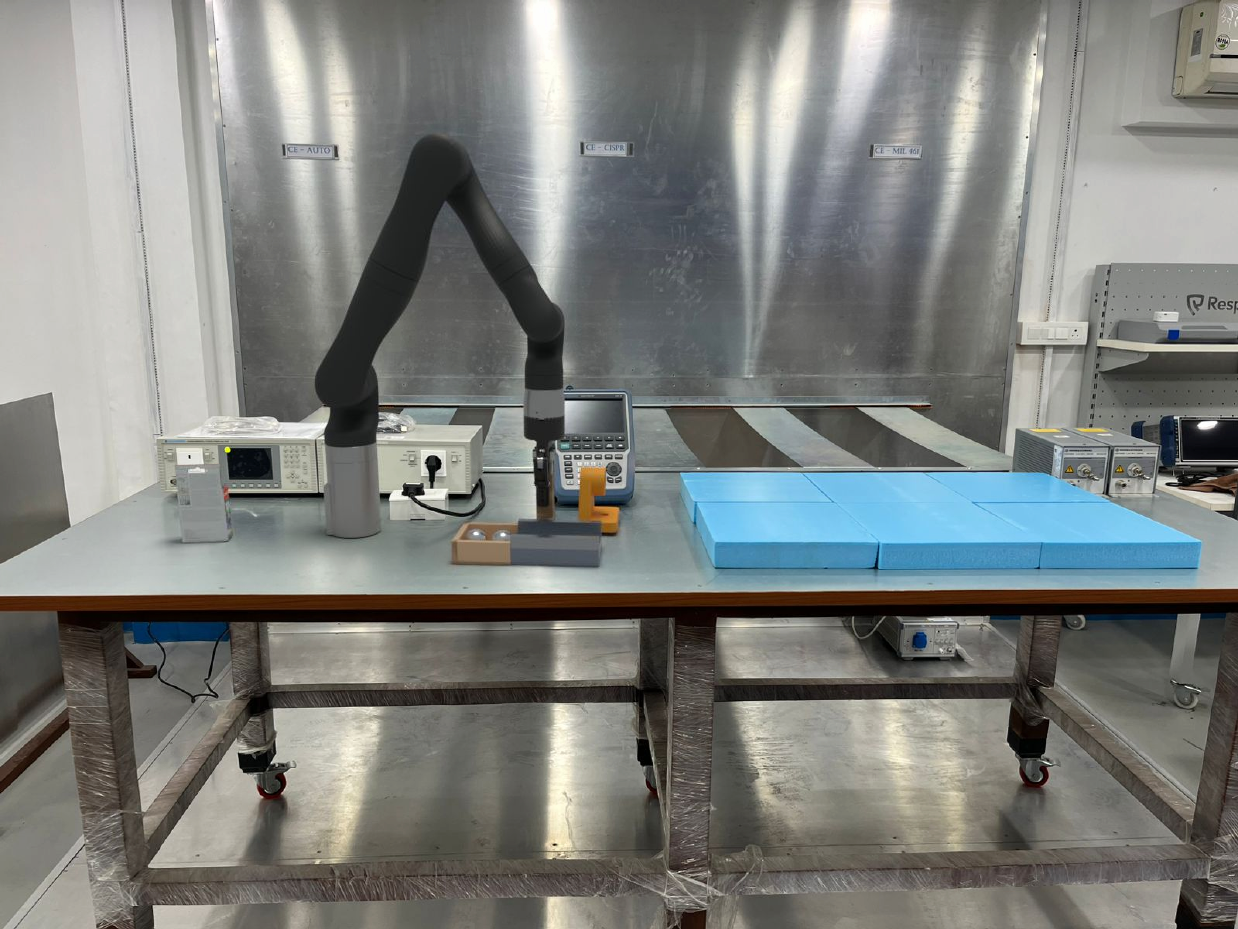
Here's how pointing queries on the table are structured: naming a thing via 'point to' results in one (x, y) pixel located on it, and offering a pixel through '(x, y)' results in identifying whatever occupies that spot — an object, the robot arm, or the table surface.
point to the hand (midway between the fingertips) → (544, 502)
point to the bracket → (590, 486)
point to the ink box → (203, 504)
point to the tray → (482, 545)
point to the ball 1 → (476, 535)
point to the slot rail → (557, 543)
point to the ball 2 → (501, 536)
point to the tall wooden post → (549, 511)
